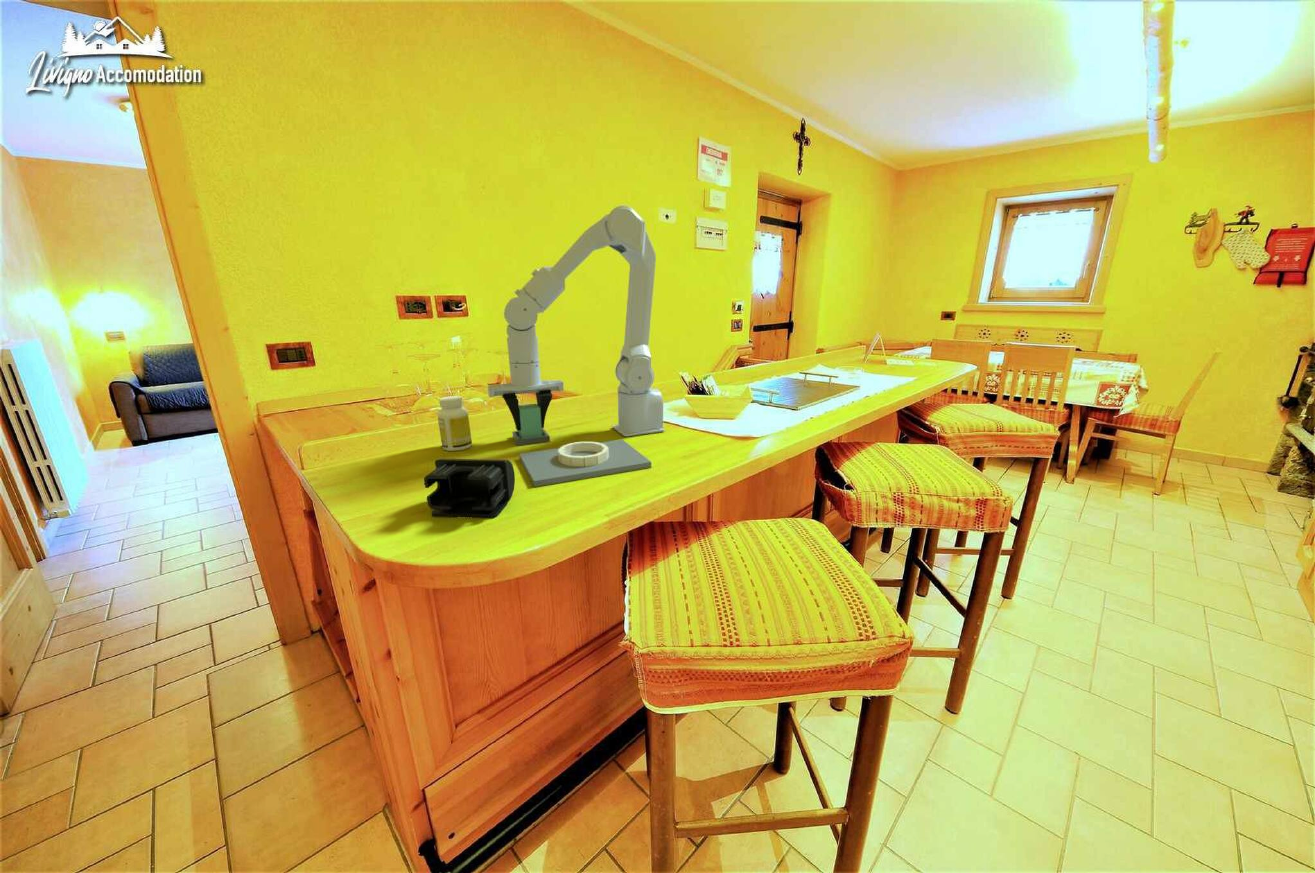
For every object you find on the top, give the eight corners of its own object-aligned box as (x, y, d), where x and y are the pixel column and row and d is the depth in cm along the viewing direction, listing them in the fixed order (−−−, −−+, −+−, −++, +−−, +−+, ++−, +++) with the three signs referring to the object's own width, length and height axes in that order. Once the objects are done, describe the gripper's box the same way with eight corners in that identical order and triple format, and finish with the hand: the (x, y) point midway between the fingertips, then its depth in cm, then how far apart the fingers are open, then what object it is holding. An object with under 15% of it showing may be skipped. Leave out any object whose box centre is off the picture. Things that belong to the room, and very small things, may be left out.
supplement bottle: (477, 443, 91) (471, 395, 88) (463, 452, 86) (456, 401, 83) (451, 442, 92) (444, 395, 89) (436, 451, 87) (428, 401, 84)
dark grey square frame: (543, 433, 98) (542, 427, 98) (549, 441, 92) (549, 436, 92) (512, 437, 95) (512, 431, 95) (517, 445, 90) (517, 440, 89)
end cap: (517, 496, 68) (513, 453, 66) (499, 519, 61) (494, 472, 59) (451, 495, 68) (445, 452, 66) (426, 517, 61) (418, 470, 59)
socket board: (622, 444, 91) (622, 431, 90) (651, 467, 79) (651, 453, 78) (519, 458, 83) (518, 445, 82) (534, 487, 71) (533, 471, 70)
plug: (538, 435, 96) (536, 403, 94) (542, 440, 93) (540, 407, 91) (519, 438, 95) (516, 405, 93) (522, 443, 91) (519, 409, 89)
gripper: (556, 357, 96) (560, 419, 100) (483, 361, 90) (490, 427, 94) (564, 361, 89) (568, 427, 93) (486, 366, 84) (494, 436, 88)
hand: (530, 428), depth 93 cm, fingers closed on plug, 4 cm apart
